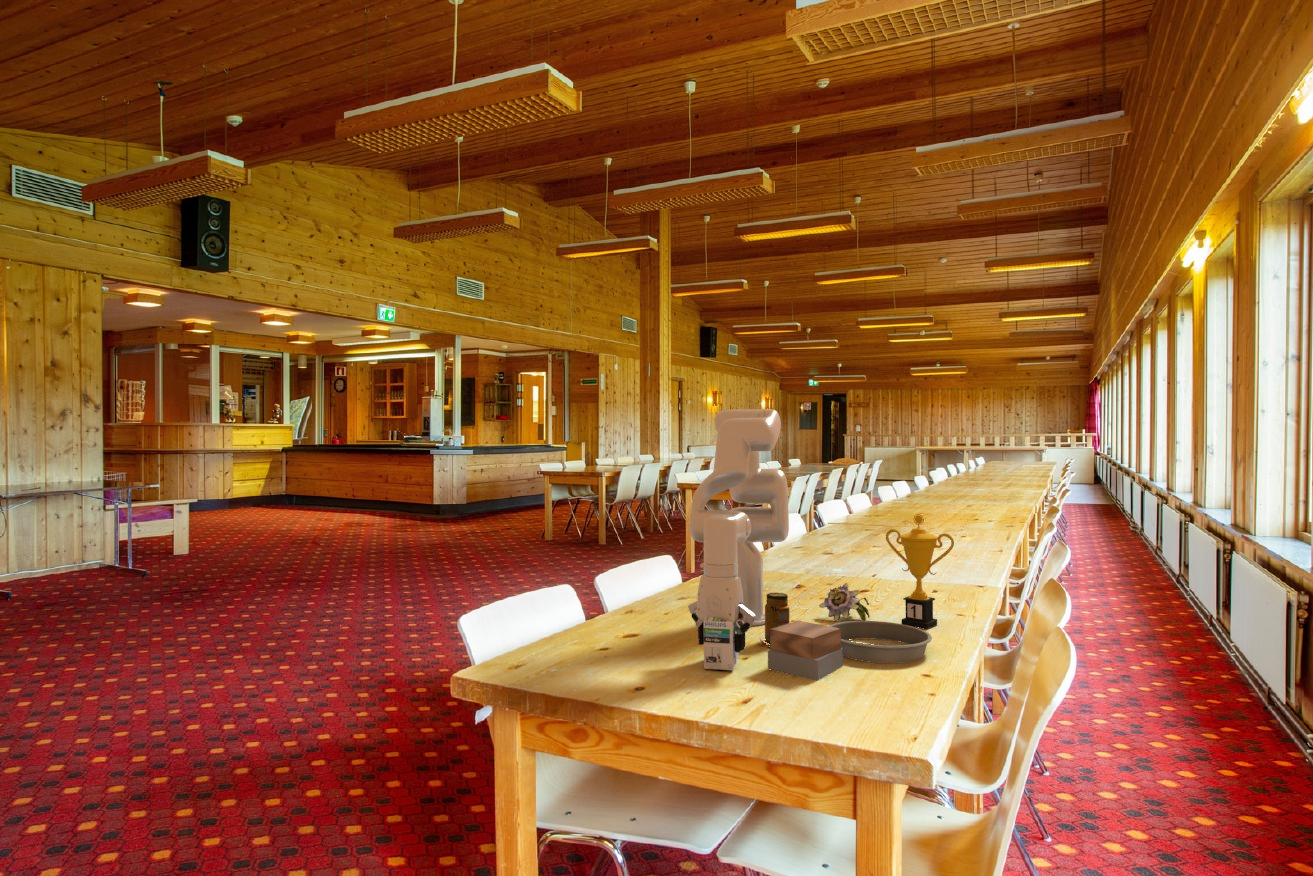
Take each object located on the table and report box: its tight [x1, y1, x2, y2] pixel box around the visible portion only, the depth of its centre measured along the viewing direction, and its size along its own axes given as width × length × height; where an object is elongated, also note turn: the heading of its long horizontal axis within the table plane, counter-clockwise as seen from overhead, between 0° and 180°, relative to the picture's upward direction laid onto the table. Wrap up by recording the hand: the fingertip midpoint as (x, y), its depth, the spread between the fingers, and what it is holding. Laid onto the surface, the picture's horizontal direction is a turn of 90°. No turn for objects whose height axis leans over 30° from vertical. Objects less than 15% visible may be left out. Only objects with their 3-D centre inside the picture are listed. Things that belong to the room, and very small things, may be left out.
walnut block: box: [769, 620, 841, 659], centre depth 165 cm, size 11×11×4 cm
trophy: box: [885, 514, 955, 630], centre depth 202 cm, size 19×10×30 cm, turn 45°
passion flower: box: [818, 582, 870, 622], centre depth 210 cm, size 11×11×12 cm
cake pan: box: [829, 620, 933, 664], centre depth 178 cm, size 25×25×4 cm
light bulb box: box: [703, 617, 739, 671], centre depth 167 cm, size 11×7×11 cm, turn 168°
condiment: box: [759, 592, 791, 648], centre depth 185 cm, size 7×8×12 cm
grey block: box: [767, 648, 844, 681], centre depth 164 cm, size 12×12×4 cm
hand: (721, 647), depth 167 cm, fingers closed on light bulb box, 9 cm apart
